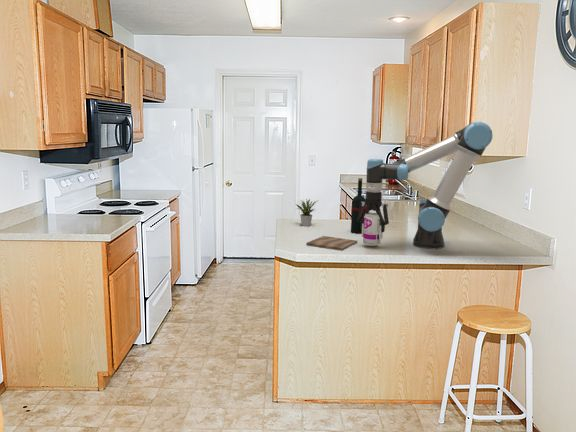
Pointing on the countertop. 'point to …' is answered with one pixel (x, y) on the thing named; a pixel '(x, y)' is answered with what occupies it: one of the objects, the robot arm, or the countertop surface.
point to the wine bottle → (357, 209)
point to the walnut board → (332, 243)
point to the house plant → (306, 213)
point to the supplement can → (371, 229)
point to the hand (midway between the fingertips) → (371, 237)
